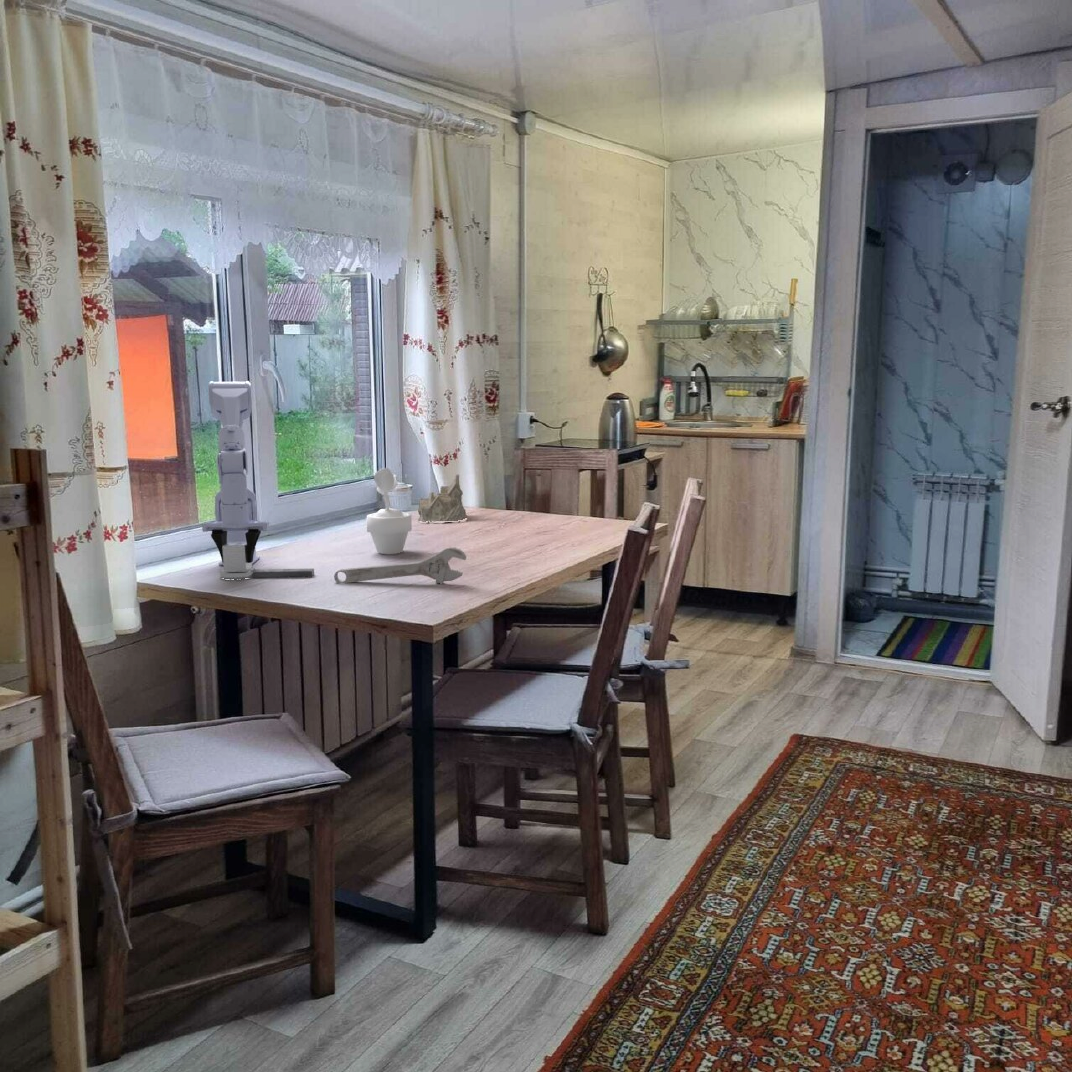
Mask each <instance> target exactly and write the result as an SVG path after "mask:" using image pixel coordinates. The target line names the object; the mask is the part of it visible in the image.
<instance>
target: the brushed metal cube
mask: <svg viewBox="0 0 1072 1072" xmlns="http://www.w3.org/2000/svg"><path fill="white" fill-rule="evenodd" d="M222 549H223V564H224V565H223V570H224V572H246V571H248V570H249V569H250V568H253V564H252V562H251V563H248V561H247V542H228V543H226V544H225V545H223V546H222Z"/></svg>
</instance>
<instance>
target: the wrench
mask: <svg viewBox="0 0 1072 1072" xmlns="http://www.w3.org/2000/svg"><path fill="white" fill-rule="evenodd" d="M453 558H456V559H460V560H463V561H466V560H467V555H466V553H465V552H464V551H463V550H461V549H460V548H457V547H454V546H453V547H451V546H449V547H446V548H444V549H443V550H441V551H440V552H438V553H436V554H434V555H432V556H431V557H428V558H425V559H423V560H421V561H415V562H405V563H395V564H385V565H373V566H362V567H361V566H360V567H351V568H341V569H339V570H337V571H335V573H334V576H333V577H334V581H335V582H336V583H337V584H340V583H342V584H348V583H357V582H365V581H373V580H385V579H391V578H393V579H394V578H401V577H413V576H424V577H428V578H431V579H433V580H435V583H434V584H436V583H440V584H439V585H441V584H442V583H443V584H444V582H452V581H455V580H456V579H459V578H461V577H462V576H463V574H464V572H462V571H460V570H458V569H451V567H450V564H449V561H450V560H451V559H453ZM339 573H343V574H345V579H344V580H341V579H340V578H339V576H338V575H339ZM443 584H442V585H443Z"/></svg>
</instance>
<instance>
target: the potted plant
mask: <svg viewBox="0 0 1072 1072" xmlns="http://www.w3.org/2000/svg"><path fill="white" fill-rule="evenodd" d="M398 459H399V468H401V462H400V458H398ZM391 470H392V469H389V468H388V467H385V468H384V467H383V468H380V469H379V470H377V471H376V472H374V473H375V474H374V476H373V477H374V478H373V480H374V482H375V484H376V486H377V487H376V492H378V494H379V495H382V494H383V499H384V504H385V508H381V509H379V510H378V511H377V512H374V513H370V514H367V515H366V532H368V533H370V535H371V538H372V541H373V544H374V546H375V549H376V552H377V553H378V554H381V555H396V554H397V553H398V554H401V553H402V552H403V551H404V548H405V545H406V540H407V538H408V534H409V532H411V531H412V529H413V528H412V527H413V525H412V524H413V523H412V522H413V521H412V520H413V519H412V513H410V512H408V513H407V512H403V511H402V510H401V509H400V510H399V509H396V508H391V500H390V496H389V494H388V493H390V492H393V491H394V490H395V489H396V487H397V486H398V481H397V478H396V474H395V473H393V472H392V471H391ZM405 477H407V474H405ZM400 552H401V553H400ZM398 554H397V555H398Z"/></svg>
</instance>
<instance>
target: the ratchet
mask: <svg viewBox="0 0 1072 1072" xmlns="http://www.w3.org/2000/svg"><path fill="white" fill-rule="evenodd" d="M314 576H315V568H257V569H256V568H254V567H252V568H250V569H249V570H248V571H246V572H224V569H221V570H220V571H219V578H224V579H234V580H237V579H245V578H252V579H278V578H279V579H280V578H281V579H285V578H286V579H289V578H292V579H293V578H295V579H296V578H297V579H298V578H313V577H314ZM237 581H238V580H237Z"/></svg>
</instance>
